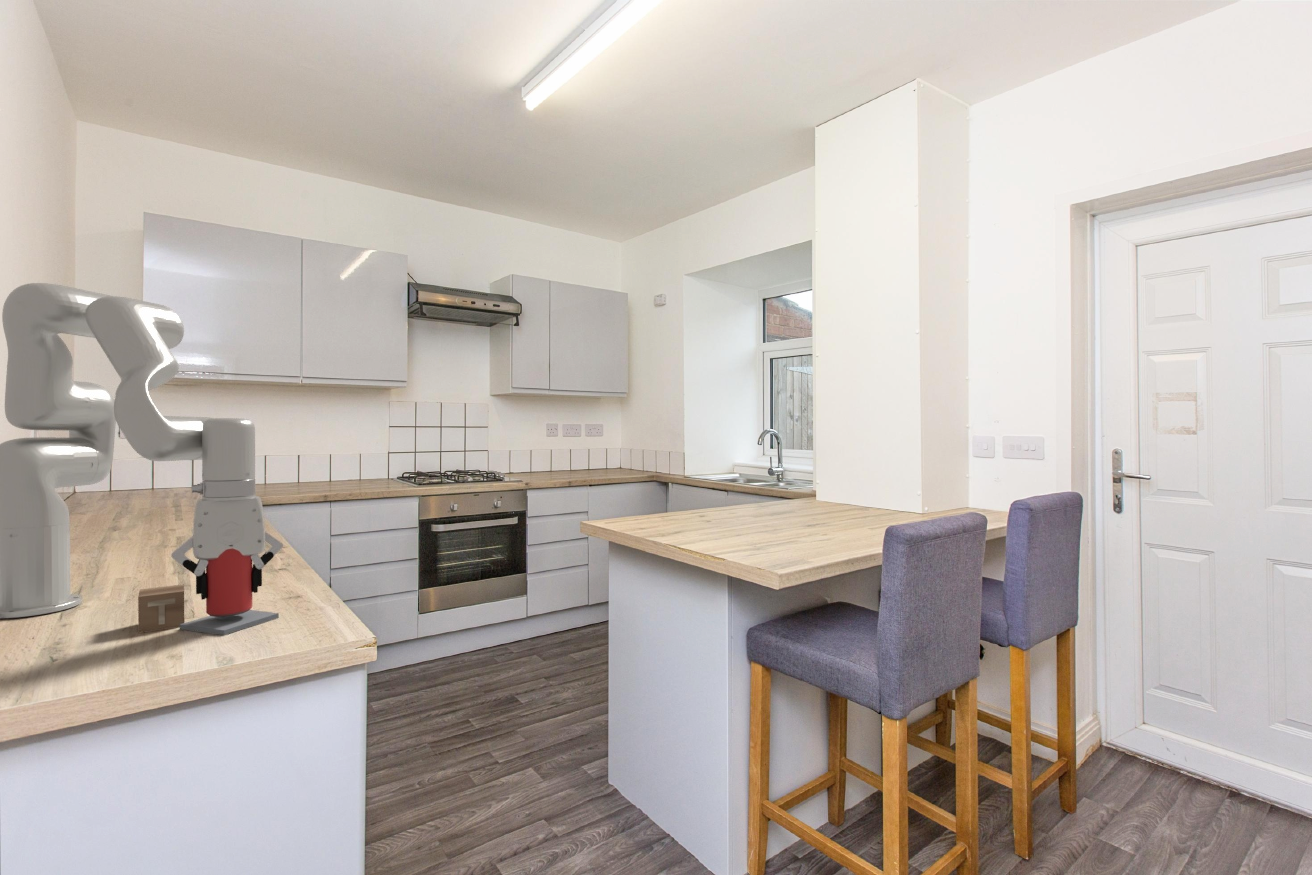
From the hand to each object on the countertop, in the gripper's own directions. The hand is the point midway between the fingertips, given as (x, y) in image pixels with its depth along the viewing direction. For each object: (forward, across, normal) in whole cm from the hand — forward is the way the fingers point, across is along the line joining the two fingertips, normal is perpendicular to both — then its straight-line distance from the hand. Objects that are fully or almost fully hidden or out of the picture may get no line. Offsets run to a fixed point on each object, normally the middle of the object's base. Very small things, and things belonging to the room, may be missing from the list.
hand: (229, 593), depth 108 cm
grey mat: (+5, 0, 0) cm, 5 cm away
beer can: (+3, 0, 0) cm, 3 cm away
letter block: (+5, -9, +6) cm, 12 cm away
